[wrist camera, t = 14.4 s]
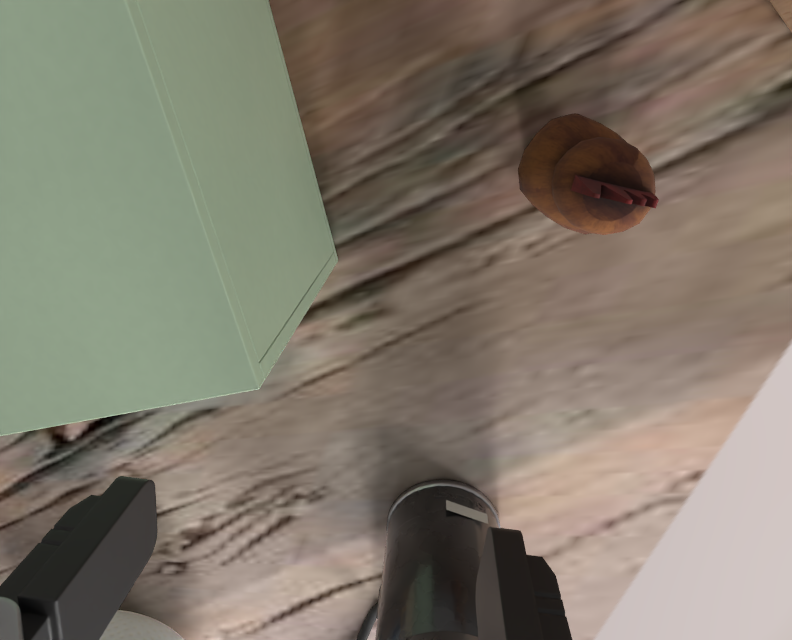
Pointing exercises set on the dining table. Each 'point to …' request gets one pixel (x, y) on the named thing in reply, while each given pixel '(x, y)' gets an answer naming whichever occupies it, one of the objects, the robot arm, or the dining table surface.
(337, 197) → the dining table surface
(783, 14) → the wooden block
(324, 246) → the cupboard
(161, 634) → the cereal bowl
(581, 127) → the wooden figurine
